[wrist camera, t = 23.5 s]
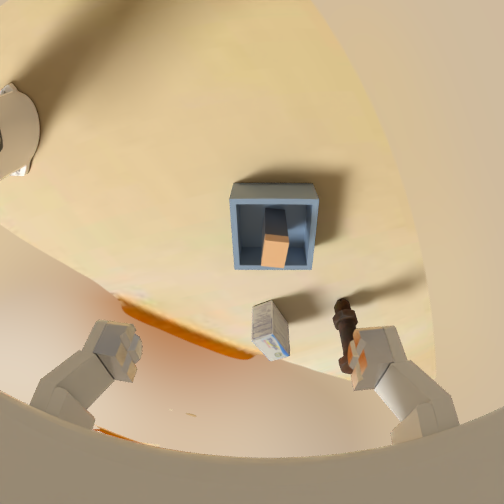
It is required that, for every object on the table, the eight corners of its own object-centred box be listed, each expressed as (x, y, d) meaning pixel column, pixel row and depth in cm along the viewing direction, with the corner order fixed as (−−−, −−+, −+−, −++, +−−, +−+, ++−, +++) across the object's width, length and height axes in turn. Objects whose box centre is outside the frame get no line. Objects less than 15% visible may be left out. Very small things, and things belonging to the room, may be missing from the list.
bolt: (358, 294, 53) (376, 357, 41) (350, 312, 56) (366, 373, 44) (330, 293, 53) (344, 358, 41) (324, 311, 56) (335, 374, 44)
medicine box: (252, 305, 56) (250, 340, 49) (272, 298, 54) (273, 334, 47) (269, 328, 60) (269, 362, 53) (288, 322, 58) (290, 356, 51)
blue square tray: (237, 248, 48) (234, 269, 43) (233, 183, 41) (229, 198, 37) (307, 248, 47) (311, 269, 43) (312, 183, 41) (319, 199, 36)
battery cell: (261, 230, 45) (261, 266, 37) (265, 207, 42) (264, 240, 35) (280, 232, 45) (283, 268, 38) (285, 209, 43) (289, 242, 35)
